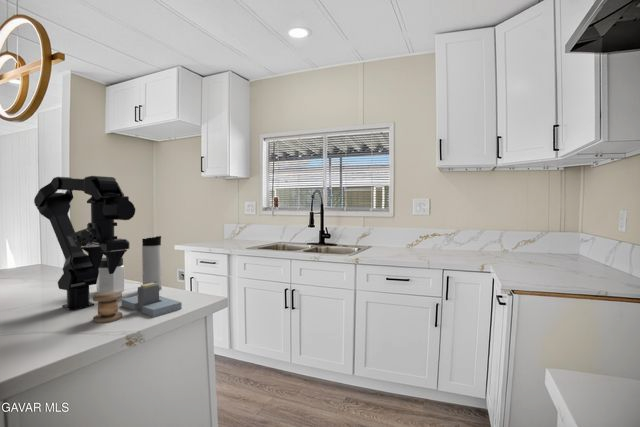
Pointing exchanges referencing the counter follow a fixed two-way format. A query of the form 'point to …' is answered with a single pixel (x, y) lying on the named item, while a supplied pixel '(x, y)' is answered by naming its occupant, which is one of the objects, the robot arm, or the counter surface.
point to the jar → (110, 278)
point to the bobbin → (107, 307)
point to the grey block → (147, 295)
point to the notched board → (153, 305)
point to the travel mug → (151, 260)
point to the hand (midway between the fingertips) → (103, 271)
